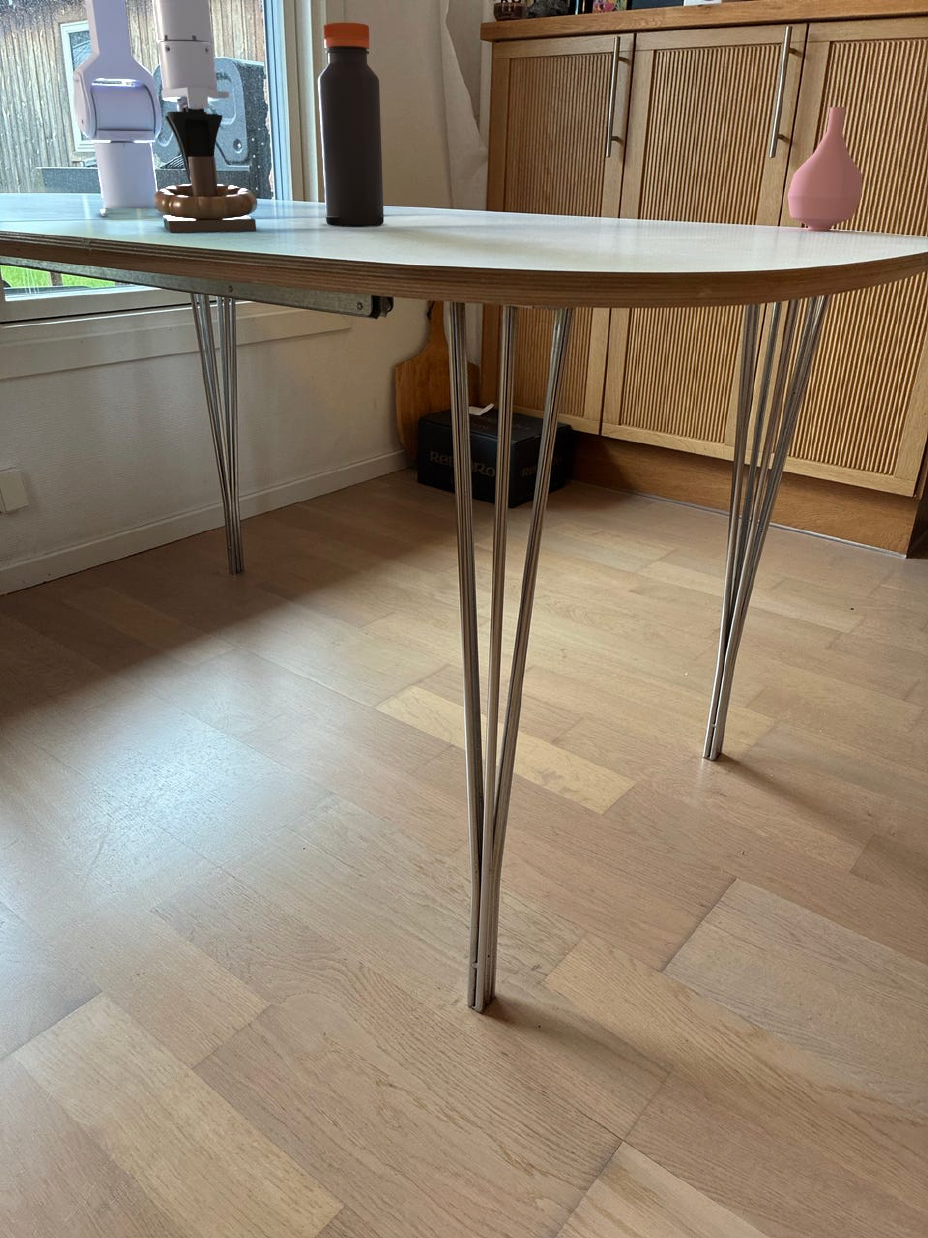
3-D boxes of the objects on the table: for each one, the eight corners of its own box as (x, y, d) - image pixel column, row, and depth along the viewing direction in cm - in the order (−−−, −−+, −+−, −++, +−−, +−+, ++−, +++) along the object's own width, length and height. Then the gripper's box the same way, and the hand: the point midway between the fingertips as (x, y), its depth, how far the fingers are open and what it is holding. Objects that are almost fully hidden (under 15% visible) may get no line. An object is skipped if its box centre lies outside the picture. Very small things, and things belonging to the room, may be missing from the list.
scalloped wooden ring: (153, 204, 106) (150, 182, 105) (250, 203, 109) (248, 182, 108) (158, 222, 97) (155, 199, 96) (263, 220, 100) (262, 198, 99)
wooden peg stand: (164, 227, 106) (155, 156, 103) (245, 225, 109) (238, 156, 106) (170, 232, 99) (160, 156, 95) (256, 230, 101) (249, 156, 98)
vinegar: (323, 223, 113) (311, 27, 104) (379, 222, 114) (372, 29, 105) (329, 227, 107) (318, 19, 98) (388, 226, 108) (382, 22, 100)
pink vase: (827, 226, 109) (846, 109, 103) (870, 231, 102) (893, 105, 97) (769, 228, 107) (785, 107, 101) (809, 232, 100) (829, 104, 95)
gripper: (232, 37, 95) (245, 186, 101) (216, 51, 107) (229, 182, 113) (159, 34, 92) (177, 186, 98) (151, 49, 105) (168, 183, 111)
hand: (200, 184), depth 105 cm, fingers closed
